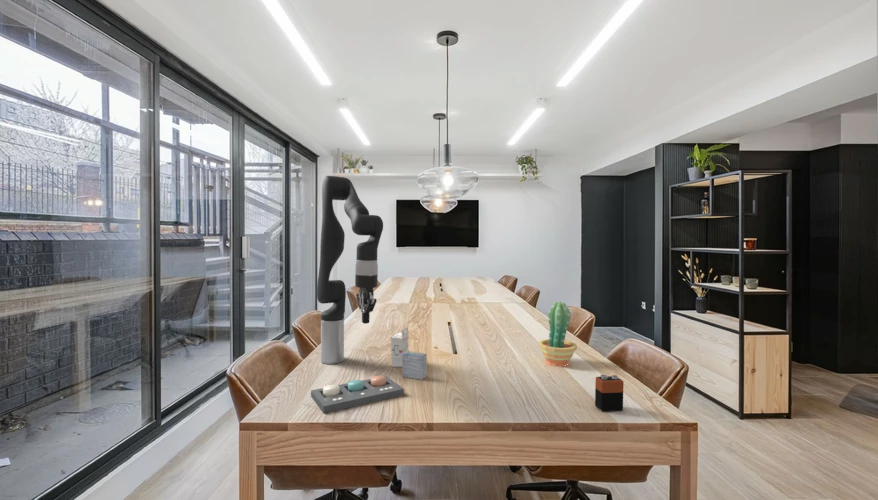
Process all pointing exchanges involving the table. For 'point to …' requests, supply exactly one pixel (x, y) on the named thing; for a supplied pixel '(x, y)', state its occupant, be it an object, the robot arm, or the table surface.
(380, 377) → the terracotta button
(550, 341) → the potted cactus
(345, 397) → the button panel
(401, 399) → the table surface
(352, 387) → the teal button
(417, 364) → the medicine box
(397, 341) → the ink cartridge box
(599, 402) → the battery
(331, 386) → the cream button
